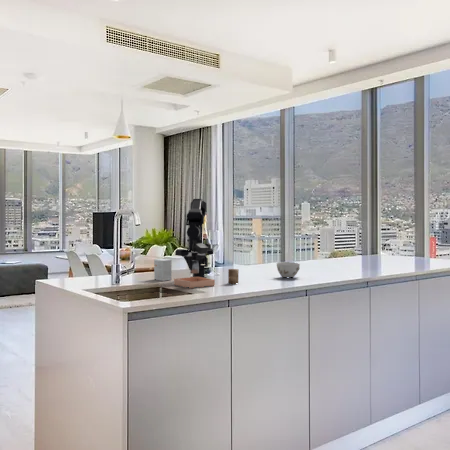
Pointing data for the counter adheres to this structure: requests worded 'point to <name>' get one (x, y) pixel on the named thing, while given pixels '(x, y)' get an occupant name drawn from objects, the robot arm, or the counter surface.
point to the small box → (162, 269)
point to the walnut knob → (233, 276)
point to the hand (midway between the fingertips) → (194, 269)
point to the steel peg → (195, 267)
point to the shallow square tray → (194, 282)
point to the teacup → (288, 269)
